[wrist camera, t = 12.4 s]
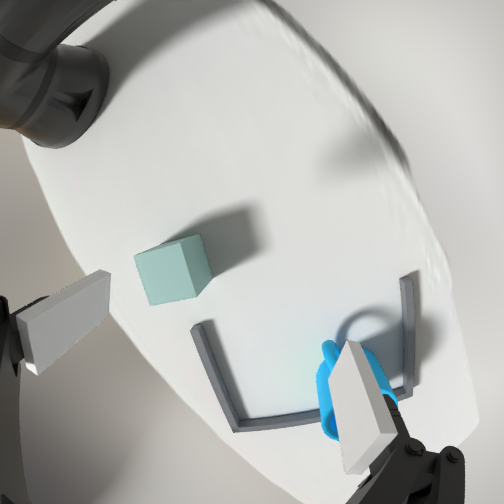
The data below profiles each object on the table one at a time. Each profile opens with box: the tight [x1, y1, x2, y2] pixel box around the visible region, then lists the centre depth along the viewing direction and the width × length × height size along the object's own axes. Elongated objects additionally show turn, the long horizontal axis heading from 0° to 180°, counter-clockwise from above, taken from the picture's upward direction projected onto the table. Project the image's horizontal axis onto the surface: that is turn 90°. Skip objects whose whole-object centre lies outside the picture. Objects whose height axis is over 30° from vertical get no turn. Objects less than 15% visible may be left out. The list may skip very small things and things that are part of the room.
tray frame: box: [190, 277, 415, 433], centre depth 30 cm, size 17×25×2 cm
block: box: [134, 234, 213, 306], centre depth 27 cm, size 5×5×6 cm
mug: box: [316, 340, 398, 441], centre depth 27 cm, size 12×8×8 cm
